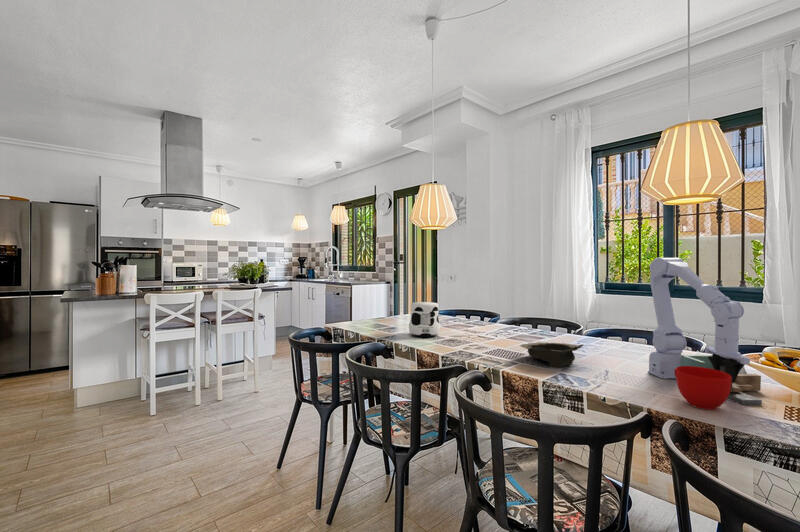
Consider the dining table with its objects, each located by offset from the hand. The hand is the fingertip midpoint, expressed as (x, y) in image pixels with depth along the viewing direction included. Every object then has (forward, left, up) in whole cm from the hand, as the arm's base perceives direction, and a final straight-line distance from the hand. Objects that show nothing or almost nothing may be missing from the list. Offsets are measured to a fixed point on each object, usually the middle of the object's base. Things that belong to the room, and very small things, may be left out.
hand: (725, 380), depth 123 cm
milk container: (-91, +91, -5) cm, 129 cm away
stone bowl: (-42, +38, -5) cm, 57 cm away
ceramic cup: (-16, -8, -5) cm, 18 cm away
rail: (0, 0, -4) cm, 4 cm away
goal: (+9, +17, -4) cm, 20 cm away
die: (+10, +8, -5) cm, 13 cm away
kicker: (+6, 0, -4) cm, 7 cm away
